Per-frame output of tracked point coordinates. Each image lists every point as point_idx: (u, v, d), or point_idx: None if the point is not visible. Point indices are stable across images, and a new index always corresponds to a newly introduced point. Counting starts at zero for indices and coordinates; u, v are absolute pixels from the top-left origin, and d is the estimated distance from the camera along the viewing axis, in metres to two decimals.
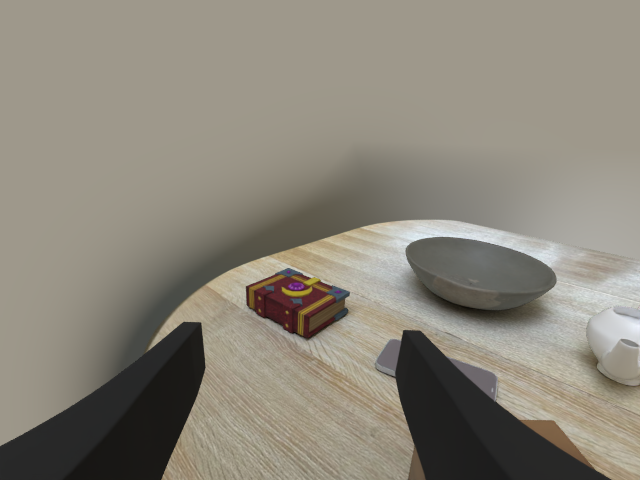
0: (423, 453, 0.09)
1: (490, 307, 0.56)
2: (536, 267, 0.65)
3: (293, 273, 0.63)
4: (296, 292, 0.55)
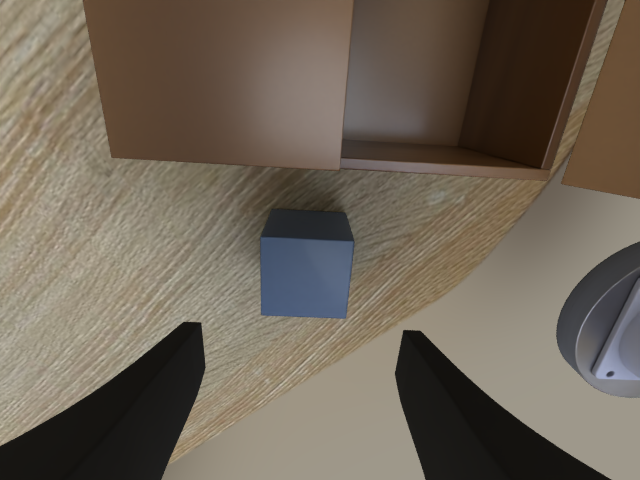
0: (423, 453, 0.09)
1: None
2: None
3: None
4: None
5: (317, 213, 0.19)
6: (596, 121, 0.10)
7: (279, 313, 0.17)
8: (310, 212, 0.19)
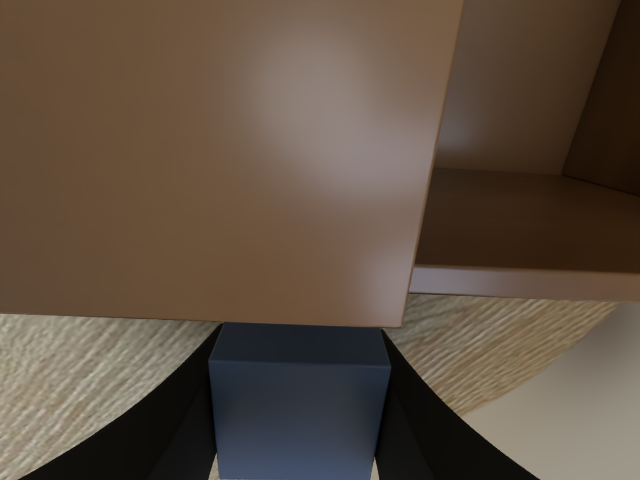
0: (378, 452, 0.09)
1: None
2: None
3: None
4: None
5: None
6: None
7: (251, 476, 0.09)
8: None
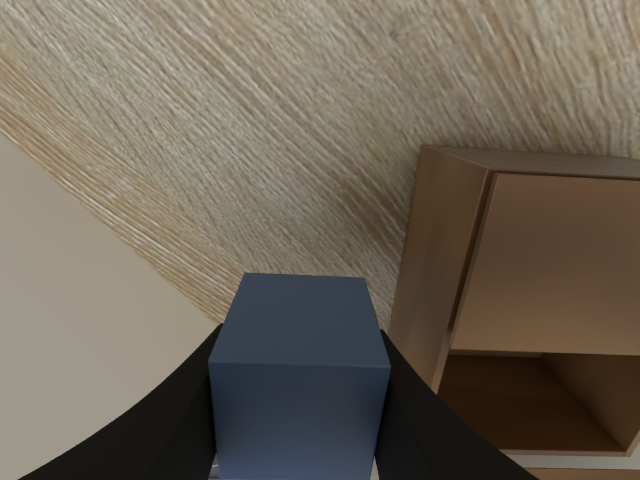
0: (378, 452, 0.09)
1: None
2: None
3: None
4: None
5: (318, 282, 0.11)
6: None
7: (251, 475, 0.09)
8: (307, 279, 0.12)
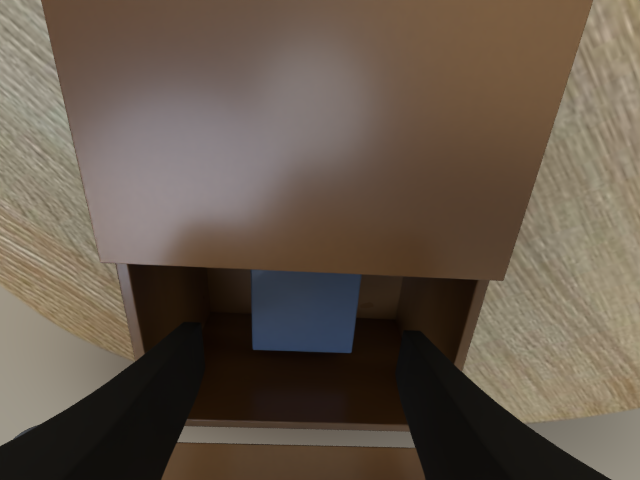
0: (423, 453, 0.09)
1: None
2: None
3: None
4: None
5: None
6: (192, 454, 0.12)
7: (274, 347, 0.14)
8: None
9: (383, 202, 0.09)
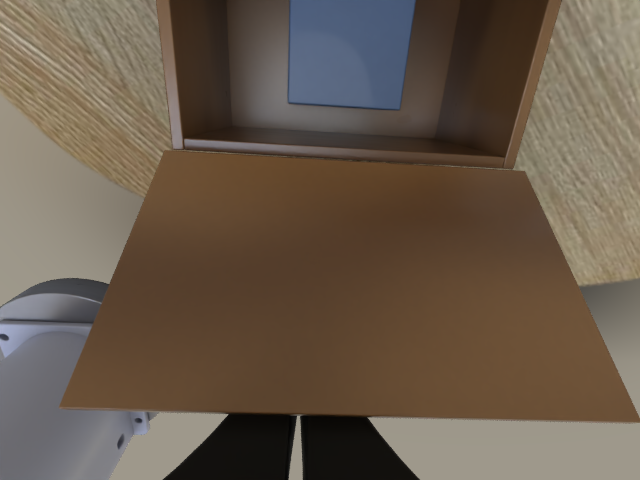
0: (303, 450, 0.09)
1: None
2: None
3: None
4: None
5: None
6: (226, 161, 0.10)
7: (312, 99, 0.13)
8: None
9: None
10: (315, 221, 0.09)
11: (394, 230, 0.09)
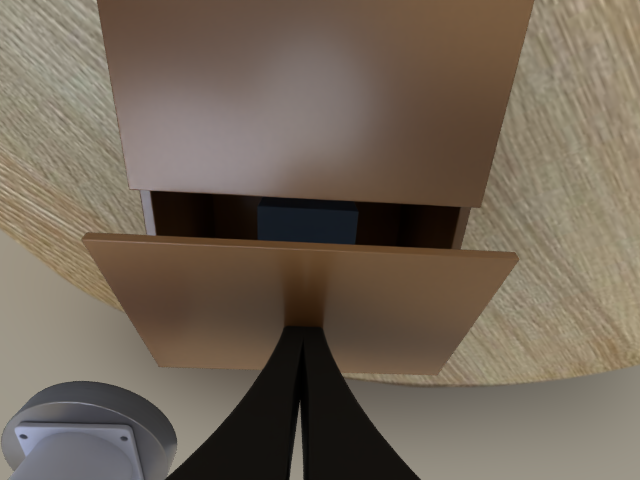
0: (303, 450, 0.09)
1: None
2: None
3: None
4: None
5: None
6: None
7: None
8: None
9: (374, 133, 0.10)
10: None
11: None
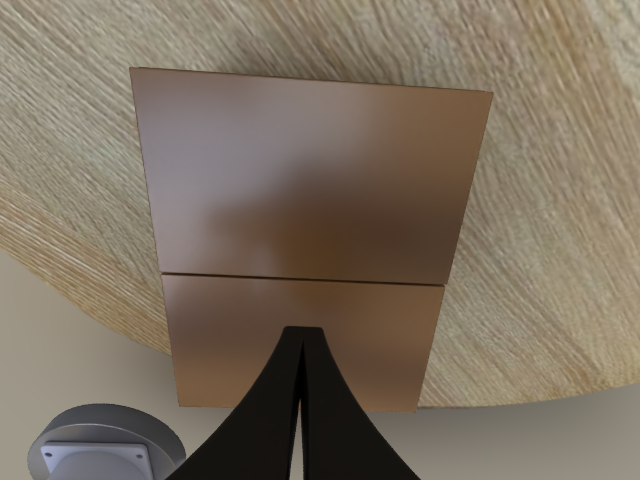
0: (303, 450, 0.09)
1: None
2: None
3: None
4: None
5: None
6: None
7: None
8: None
9: (359, 230, 0.12)
10: None
11: None
